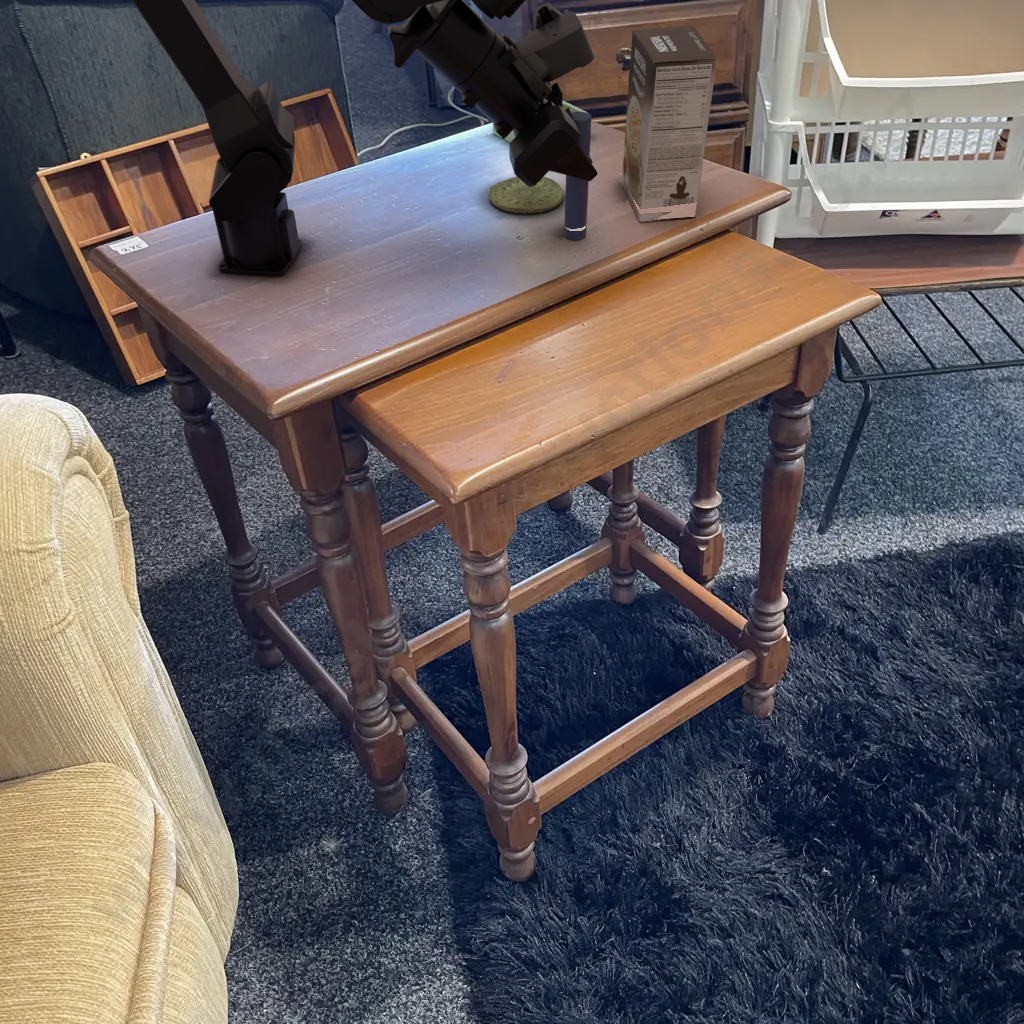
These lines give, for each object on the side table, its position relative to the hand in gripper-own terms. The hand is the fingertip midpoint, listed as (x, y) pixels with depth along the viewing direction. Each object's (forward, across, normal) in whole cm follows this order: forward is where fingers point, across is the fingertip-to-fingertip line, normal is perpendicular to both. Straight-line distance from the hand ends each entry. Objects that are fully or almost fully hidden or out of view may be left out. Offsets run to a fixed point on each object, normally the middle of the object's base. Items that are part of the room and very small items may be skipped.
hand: (591, 171), depth 95 cm
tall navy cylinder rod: (+4, 0, +6) cm, 7 cm away
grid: (+4, +25, +5) cm, 26 cm away
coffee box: (+11, +6, -1) cm, 13 cm away
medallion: (+1, +9, +8) cm, 12 cm away
